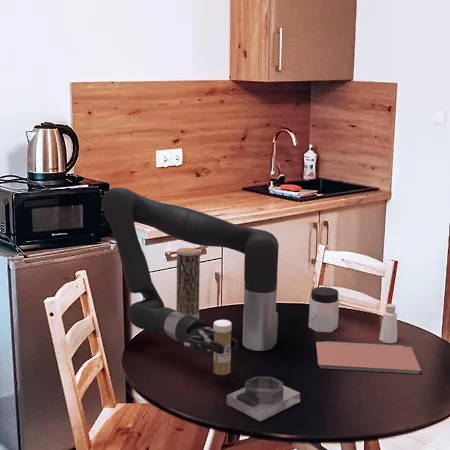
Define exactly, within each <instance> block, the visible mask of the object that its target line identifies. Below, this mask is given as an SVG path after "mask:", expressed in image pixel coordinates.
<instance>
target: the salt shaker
mask: <svg viewBox="0 0 450 450" xmlns="http://www.w3.org/2000/svg"><path fill="white" fill-rule="evenodd" d="M396 307H397V306H396V304H393V303H387V304H385V311H384V313H383V316H382V323H381V327H380V332H379V338H378V339H379V341H380V342H383V343H386V344H394V343H397V341H398V319H397V318H398V315H397V312H396Z"/></svg>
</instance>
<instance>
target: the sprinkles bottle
mask: <svg viewBox="0 0 450 450" xmlns="http://www.w3.org/2000/svg"><path fill="white" fill-rule="evenodd" d="M212 325H213V326H212V328H213V329H214V342H216V343H218V344H221V345H223V346H224V353H223V354H219V353H216V352H214V351H213V370H212V371H213V373H214V374H215V375H218V376H225V375H228V374H230V373H231V372H232V369H231V360H232V359H231V358H232V347H231V332H232V329H233V324H232V322H231V321H230V320H228V319H218V320H215V321H214V322H213V324H212Z"/></svg>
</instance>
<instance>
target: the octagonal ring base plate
mask: <svg viewBox="0 0 450 450" xmlns="http://www.w3.org/2000/svg"><path fill="white" fill-rule="evenodd" d="M244 382H245V383H244V387H242V388H240V389H238V390H235V391H234V392H231V393H228V394H226V405H227V406H229V407H231V408H233V409H235V410H237V411H238V412H240V413H243V414H245V415H247V416H249V417H251V418H253V419H255V420H257V421H258V422H263V421H265V420H267V419H269V418H271V417H273V416H274V415H277V414H279V413H280V412H283V411H285V410H287V409H289V408H291V407H293V406H295V405H297V404H298V403H301V393H300V392H299V391H297V390H295V389H293V388H291V387H287V386H285V385H284V383H283V381H282V380H279V379H277V378H274V377H273V376H254V377H251V378H249V379H247V380H245V381H244Z"/></svg>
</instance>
